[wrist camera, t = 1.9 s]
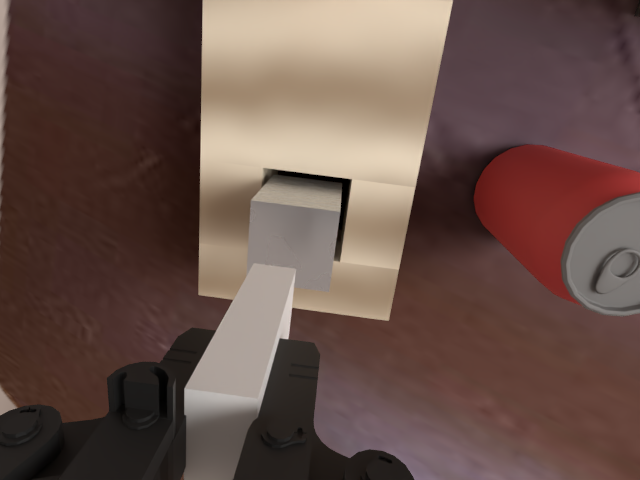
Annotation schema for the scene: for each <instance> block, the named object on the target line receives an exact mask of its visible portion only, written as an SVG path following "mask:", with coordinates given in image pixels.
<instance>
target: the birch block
mask: <svg viewBox="0 0 640 480" xmlns="http://www.w3.org/2000/svg"><path fill="white" fill-rule="evenodd" d="M452 3H453V0H203V19H202V87H201V156H200V224H199V293H198V295H203V296H210V297H218V298H225V299H232V300H234V298H235V296H236V295H237V293H238V291H239V289H240V287H241V285H242V284H243V282H244V280H245V278H246V274H247V257H248V240H249V223H250V207H251V199H252V198H253V197H254V196H255V195H256V194H257V193H258V192H259V190H260V189H261V188H262V187H263V186H264V185H265V184H266V183H267V182H268V180H269V179H270V178H271V177H272V176H273V175H274V174H275V175H278V170H284V171H292V172H300V173H308V174H315V175H323V176H331V177H339V178H346V179H349V182H348V189H347V196H346V203H345V210H344V217H343V224H342V230H339V229H338V232H337V239H336V246H335V254H334V261H333V268H332V275H331V282H330V289H329V292H325V291H317V290H310V289H302V288H295V287H294V292H293V302H292V308H299V309H306V310H313V311H321V312H328V313H335V314H343V315H350V316H357V317H365V318H372V319H379V320H387V321H389V316H390V311H391V306H392V301H393V296H394V291H395V286H396V281H397V276H398V271H399V266H400V261H401V256H402V251H403V247H404V242H405V237H406V232H407V227H408V222H409V217H410V212H411V207H412V202H413V197H414V192H415V187H416V182H417V177H418V172H419V167H420V162H421V157H422V152H423V147H424V142H425V137H426V132H427V127H428V122H429V117H430V112H431V107H432V103H433V98H434V93H435V88H436V83H437V78H438V73H439V68H440V63H441V58H442V53H443V48H444V43H445V38H446V33H447V28H448V23H449V18H450V13H451V8H452Z"/></svg>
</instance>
